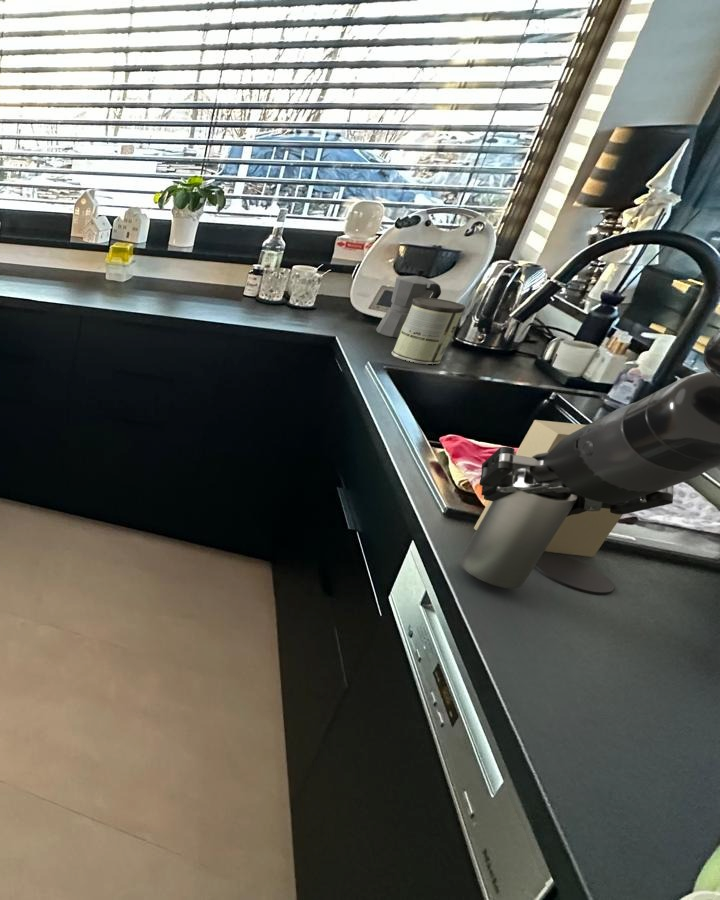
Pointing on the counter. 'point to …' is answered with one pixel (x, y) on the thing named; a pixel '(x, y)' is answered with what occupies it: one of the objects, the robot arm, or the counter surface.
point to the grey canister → (515, 536)
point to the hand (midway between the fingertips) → (523, 500)
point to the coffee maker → (569, 523)
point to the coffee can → (427, 330)
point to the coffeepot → (406, 301)
